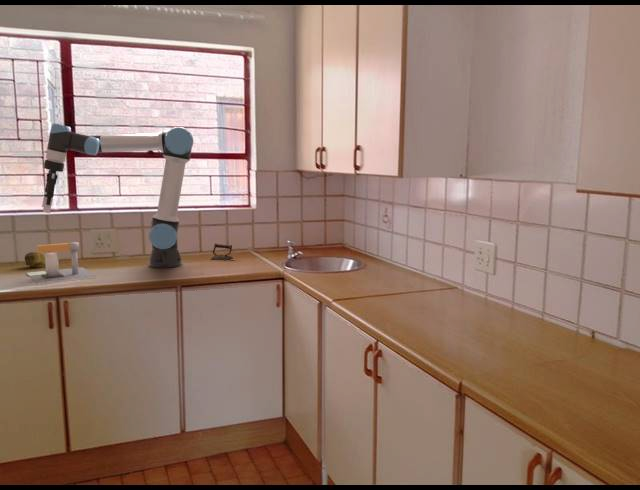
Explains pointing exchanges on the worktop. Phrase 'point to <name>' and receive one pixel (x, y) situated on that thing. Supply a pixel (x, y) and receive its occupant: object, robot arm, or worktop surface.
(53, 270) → the plug
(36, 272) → the pad
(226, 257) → the clothes iron
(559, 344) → the worktop surface
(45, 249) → the orange bar
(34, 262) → the potato
